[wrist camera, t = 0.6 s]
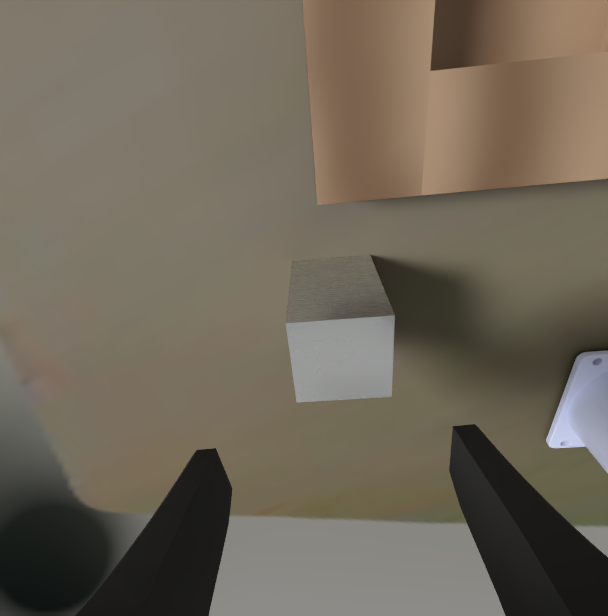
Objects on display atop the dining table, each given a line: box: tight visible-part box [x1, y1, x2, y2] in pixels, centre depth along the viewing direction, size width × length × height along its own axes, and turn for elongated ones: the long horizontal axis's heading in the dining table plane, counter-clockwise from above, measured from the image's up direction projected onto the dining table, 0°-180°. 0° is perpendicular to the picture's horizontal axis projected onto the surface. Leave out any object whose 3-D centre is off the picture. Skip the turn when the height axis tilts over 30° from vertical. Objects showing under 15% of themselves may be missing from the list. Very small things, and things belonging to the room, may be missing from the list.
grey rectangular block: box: [286, 255, 395, 402], centre depth 17 cm, size 4×4×6 cm
